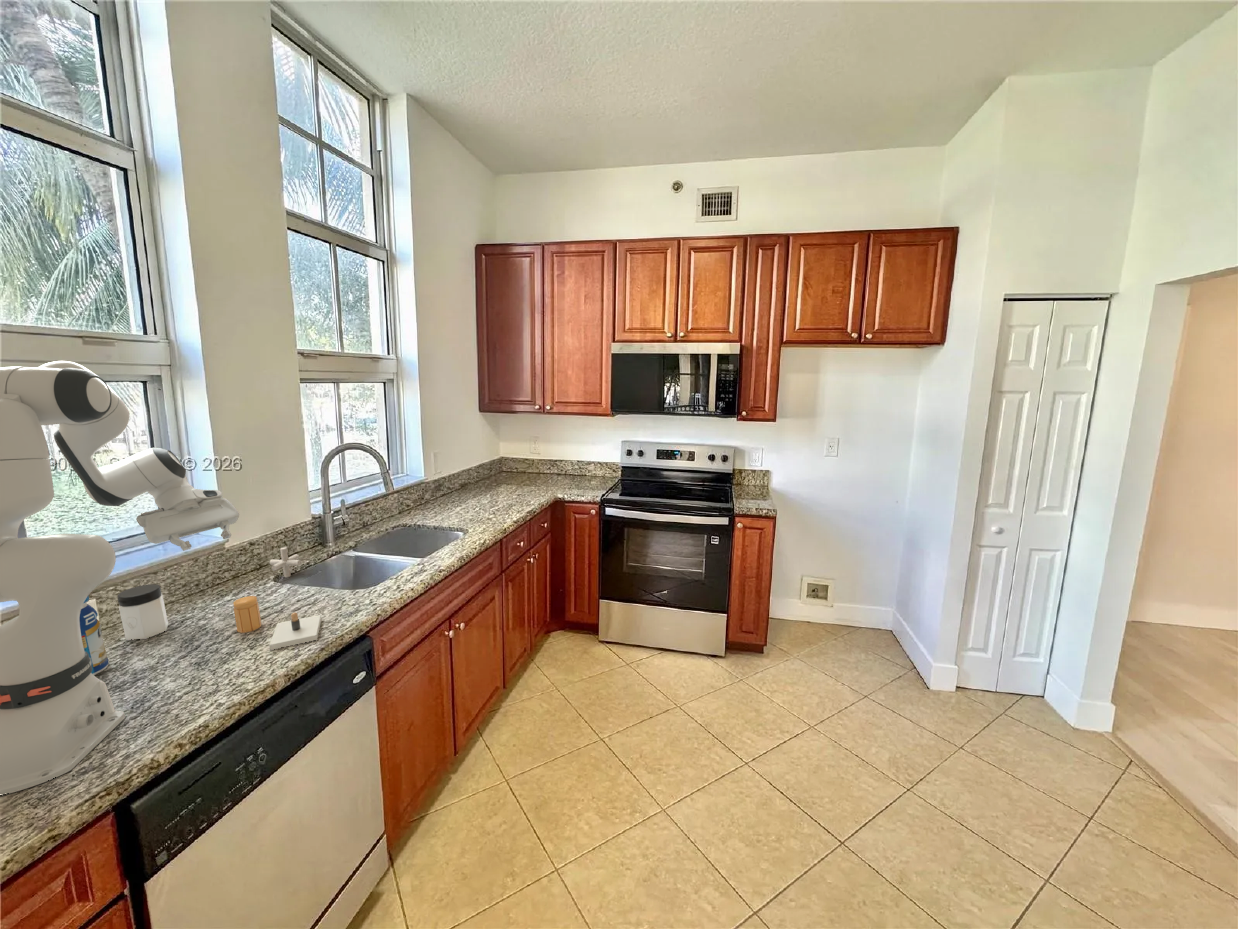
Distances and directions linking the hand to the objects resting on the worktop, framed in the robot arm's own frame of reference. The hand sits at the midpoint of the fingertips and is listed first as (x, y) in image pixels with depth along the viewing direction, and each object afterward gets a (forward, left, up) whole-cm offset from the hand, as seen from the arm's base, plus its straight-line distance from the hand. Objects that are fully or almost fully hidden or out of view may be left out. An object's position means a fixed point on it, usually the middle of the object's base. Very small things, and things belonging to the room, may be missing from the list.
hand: (208, 542), depth 133 cm
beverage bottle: (-17, +22, -23) cm, 36 cm away
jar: (0, +16, -23) cm, 28 cm away
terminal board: (-20, -20, -22) cm, 36 cm away
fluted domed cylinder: (-10, -8, -22) cm, 26 cm away
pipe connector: (+26, -12, -23) cm, 37 cm away
